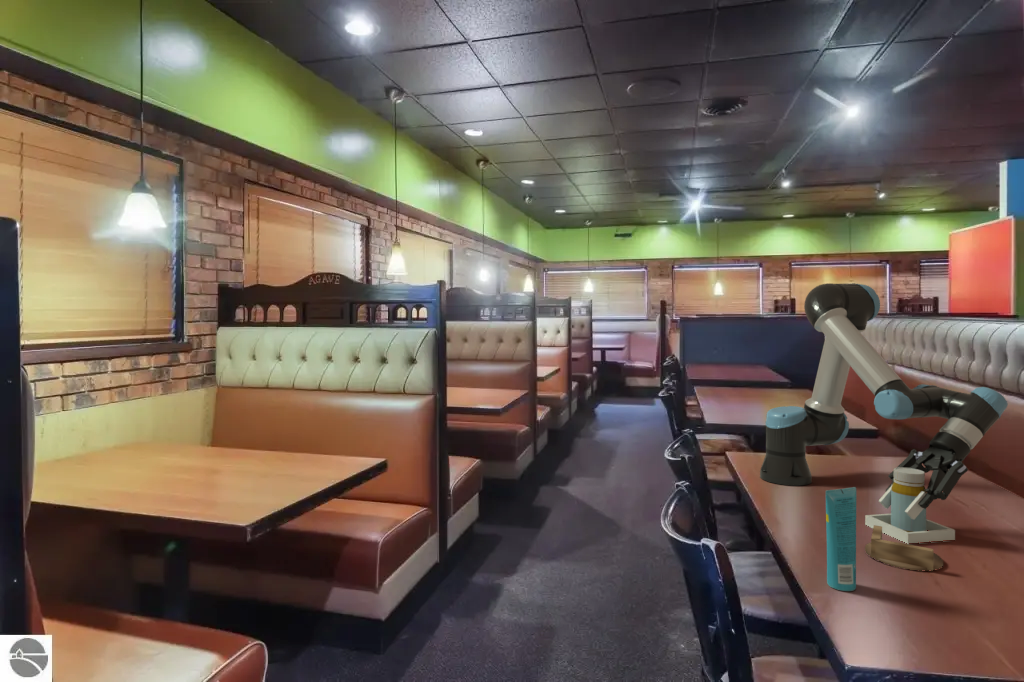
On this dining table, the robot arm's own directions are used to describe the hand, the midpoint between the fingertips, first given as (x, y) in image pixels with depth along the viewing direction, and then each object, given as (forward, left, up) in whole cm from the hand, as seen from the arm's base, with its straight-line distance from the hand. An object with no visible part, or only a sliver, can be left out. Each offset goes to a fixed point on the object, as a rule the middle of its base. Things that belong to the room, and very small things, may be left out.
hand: (895, 510), depth 136 cm
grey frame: (+2, +3, -6) cm, 7 cm away
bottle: (+2, +3, -6) cm, 7 cm away
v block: (+4, -15, -6) cm, 17 cm away
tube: (-2, -39, -6) cm, 40 cm away
